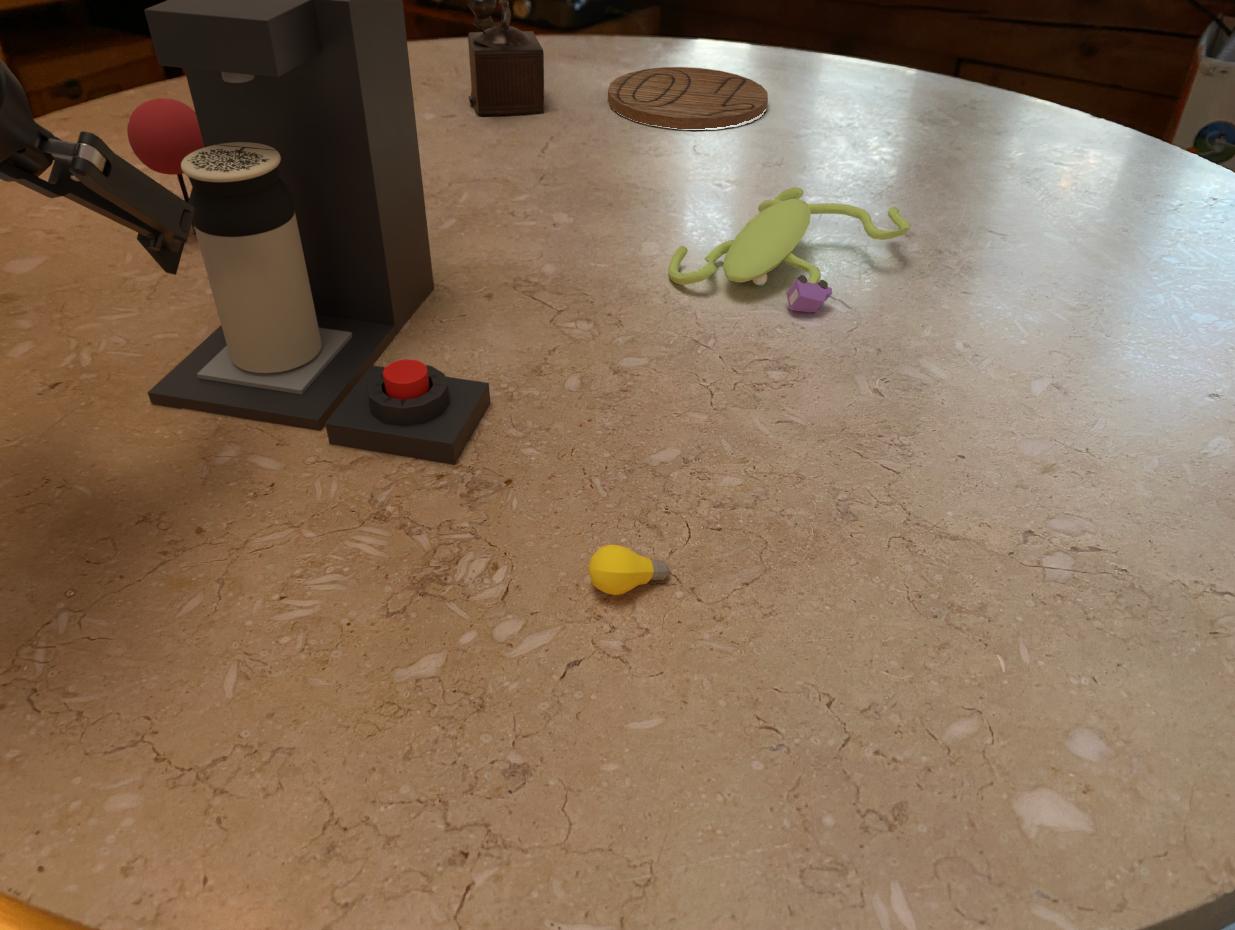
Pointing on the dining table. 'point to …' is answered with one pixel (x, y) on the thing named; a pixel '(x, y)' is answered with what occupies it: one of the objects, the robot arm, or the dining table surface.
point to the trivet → (687, 97)
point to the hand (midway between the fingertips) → (82, 237)
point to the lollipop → (164, 136)
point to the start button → (406, 379)
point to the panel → (410, 417)
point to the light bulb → (623, 569)
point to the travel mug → (253, 256)
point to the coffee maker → (311, 181)
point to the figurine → (780, 247)
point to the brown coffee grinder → (504, 64)
